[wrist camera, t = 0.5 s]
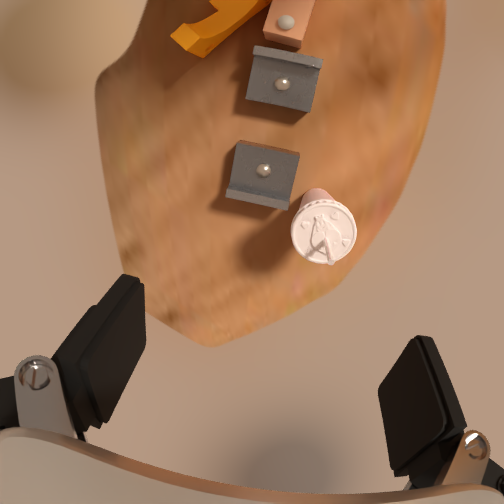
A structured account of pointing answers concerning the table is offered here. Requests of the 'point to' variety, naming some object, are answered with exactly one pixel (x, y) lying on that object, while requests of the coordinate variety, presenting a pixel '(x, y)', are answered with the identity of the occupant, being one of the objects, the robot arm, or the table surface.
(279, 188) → the book ends
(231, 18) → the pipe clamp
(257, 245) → the table surface
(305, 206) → the pink drink cup
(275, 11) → the peach two-stud bar
